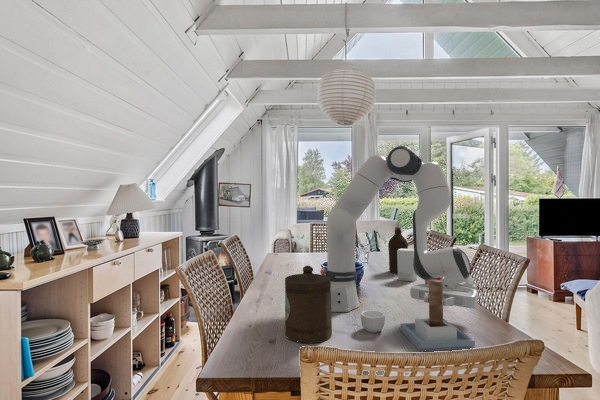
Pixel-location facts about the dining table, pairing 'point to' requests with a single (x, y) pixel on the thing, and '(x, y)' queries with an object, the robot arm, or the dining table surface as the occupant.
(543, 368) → the dining table surface
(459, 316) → the dining table surface
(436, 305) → the peg
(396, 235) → the olive oil
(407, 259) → the skincare box
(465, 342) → the tray
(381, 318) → the teacup
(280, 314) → the dining table surface
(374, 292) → the dining table surface
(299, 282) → the wooden container
